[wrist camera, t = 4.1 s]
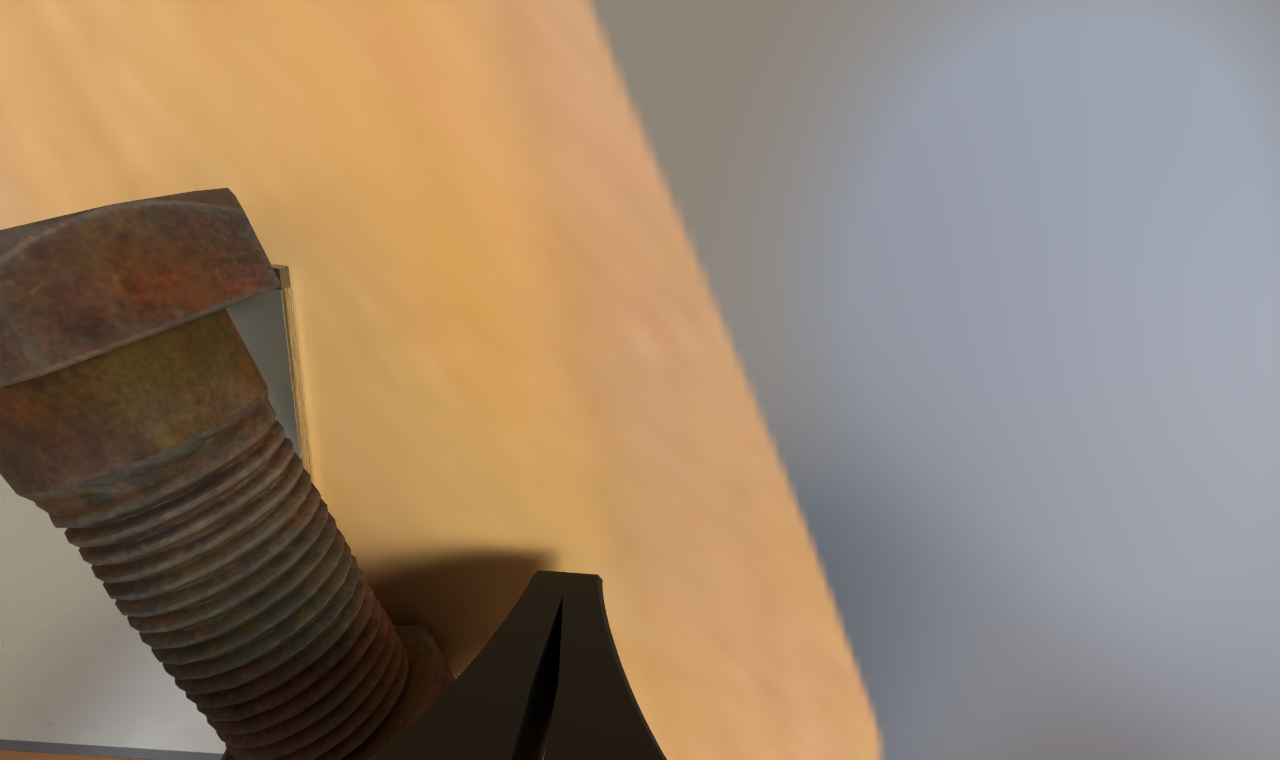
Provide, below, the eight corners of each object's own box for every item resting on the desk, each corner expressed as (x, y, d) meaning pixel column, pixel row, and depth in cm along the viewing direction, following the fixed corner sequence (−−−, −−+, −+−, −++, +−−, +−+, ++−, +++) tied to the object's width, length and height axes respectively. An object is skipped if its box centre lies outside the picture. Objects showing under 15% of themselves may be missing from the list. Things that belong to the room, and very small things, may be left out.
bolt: (441, 728, 18) (156, 216, 12) (586, 774, 15) (316, 162, 9) (260, 974, 13) (-355, 332, 7) (427, 1099, 11) (-293, 284, 5)
